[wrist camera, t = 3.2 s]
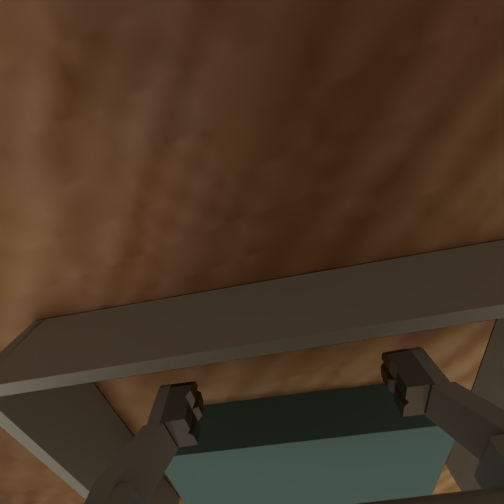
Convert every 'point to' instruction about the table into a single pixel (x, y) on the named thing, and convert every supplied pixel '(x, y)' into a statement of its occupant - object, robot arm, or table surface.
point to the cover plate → (311, 451)
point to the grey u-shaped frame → (235, 346)
